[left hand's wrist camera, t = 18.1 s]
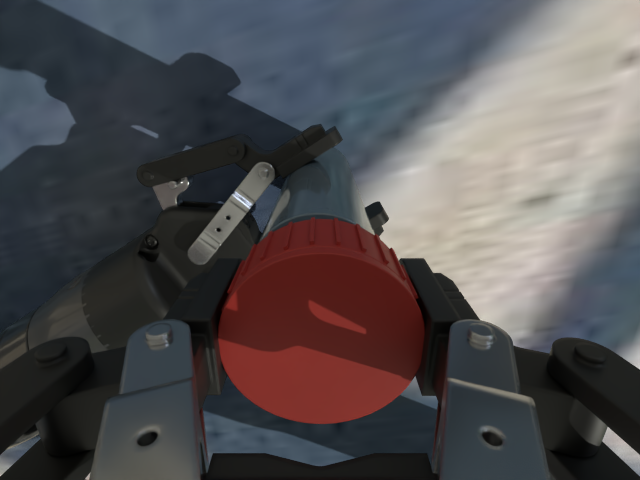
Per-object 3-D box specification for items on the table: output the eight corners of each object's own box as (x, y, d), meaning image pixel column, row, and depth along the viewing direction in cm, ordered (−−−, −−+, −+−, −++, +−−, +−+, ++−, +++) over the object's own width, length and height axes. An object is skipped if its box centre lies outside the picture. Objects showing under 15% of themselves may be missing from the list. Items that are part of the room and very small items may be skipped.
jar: (347, 207, 28) (385, 383, 11) (288, 201, 28) (235, 372, 11) (354, 147, 26) (412, 246, 9) (291, 141, 26) (235, 231, 9)
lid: (317, 176, 10) (316, 201, 8) (443, 294, 11) (473, 344, 9) (199, 300, 11) (170, 351, 9) (324, 391, 13) (325, 454, 10)
